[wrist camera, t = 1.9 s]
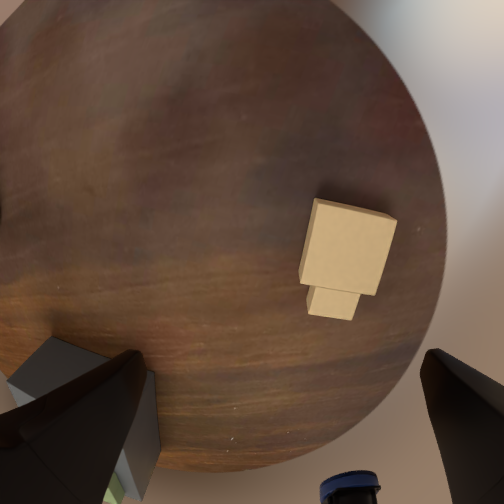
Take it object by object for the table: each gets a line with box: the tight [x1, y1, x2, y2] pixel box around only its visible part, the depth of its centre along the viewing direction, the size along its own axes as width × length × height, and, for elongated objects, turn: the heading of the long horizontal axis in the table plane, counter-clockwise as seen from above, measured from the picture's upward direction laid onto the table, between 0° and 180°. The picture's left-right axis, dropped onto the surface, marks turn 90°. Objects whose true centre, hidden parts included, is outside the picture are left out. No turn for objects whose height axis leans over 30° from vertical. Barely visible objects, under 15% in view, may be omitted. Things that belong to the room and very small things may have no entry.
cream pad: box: [299, 198, 397, 320], centre depth 19 cm, size 5×7×2 cm
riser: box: [7, 336, 161, 501], centre depth 23 cm, size 12×14×8 cm
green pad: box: [103, 472, 125, 504], centre depth 19 cm, size 8×6×2 cm, turn 81°
